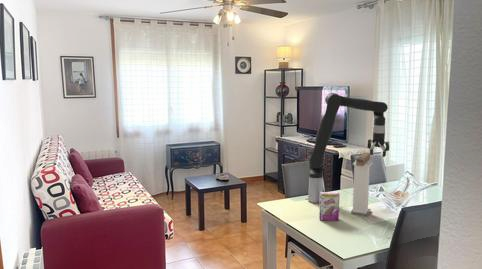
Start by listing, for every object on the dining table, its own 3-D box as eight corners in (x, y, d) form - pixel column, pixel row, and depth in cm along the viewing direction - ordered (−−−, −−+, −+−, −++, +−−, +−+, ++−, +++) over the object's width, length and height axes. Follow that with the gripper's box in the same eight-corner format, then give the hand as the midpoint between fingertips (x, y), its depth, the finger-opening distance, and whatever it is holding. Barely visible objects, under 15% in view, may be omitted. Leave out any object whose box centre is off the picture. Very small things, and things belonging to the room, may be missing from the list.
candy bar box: (319, 220, 215) (320, 194, 213) (318, 217, 220) (319, 191, 218) (339, 221, 214) (339, 194, 212) (337, 218, 219) (338, 191, 217)
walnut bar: (363, 166, 214) (363, 159, 214) (356, 165, 216) (356, 159, 216) (370, 158, 235) (370, 152, 235) (363, 158, 237) (363, 152, 236)
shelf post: (367, 216, 222) (369, 165, 217) (350, 213, 226) (352, 163, 222) (370, 211, 230) (372, 161, 226) (354, 208, 235) (356, 160, 231)
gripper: (366, 131, 244) (365, 155, 246) (386, 133, 233) (385, 158, 236) (371, 130, 249) (370, 153, 251) (392, 132, 238) (390, 156, 241)
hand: (377, 155), depth 244 cm, fingers open, 8 cm apart
